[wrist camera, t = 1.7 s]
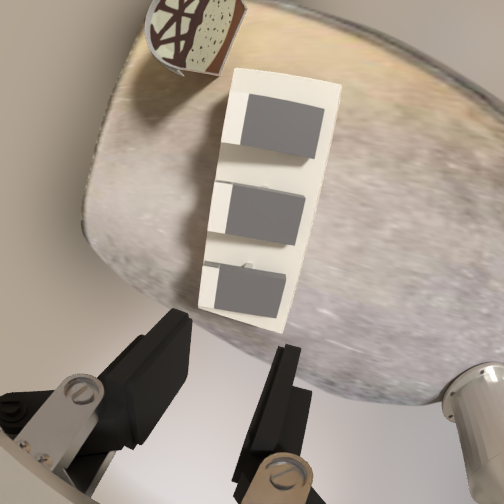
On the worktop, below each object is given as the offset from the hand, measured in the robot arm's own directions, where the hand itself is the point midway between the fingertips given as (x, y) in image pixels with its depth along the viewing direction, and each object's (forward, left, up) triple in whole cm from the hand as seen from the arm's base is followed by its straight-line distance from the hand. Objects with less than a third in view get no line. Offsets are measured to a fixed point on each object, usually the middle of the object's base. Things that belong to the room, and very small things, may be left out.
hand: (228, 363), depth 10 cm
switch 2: (+4, 0, -19) cm, 20 cm away
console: (+4, 0, -27) cm, 27 cm away
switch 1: (+4, -8, -19) cm, 21 cm away
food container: (+15, -18, -27) cm, 36 cm away
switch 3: (+4, +8, -19) cm, 21 cm away
